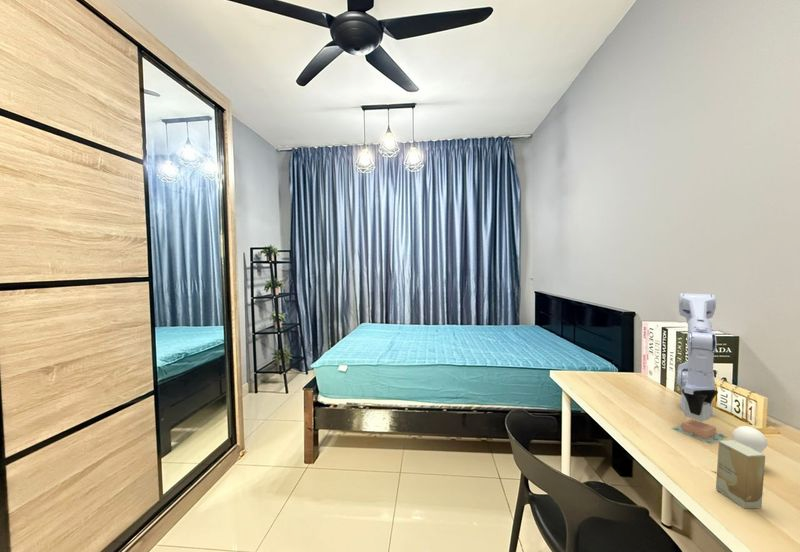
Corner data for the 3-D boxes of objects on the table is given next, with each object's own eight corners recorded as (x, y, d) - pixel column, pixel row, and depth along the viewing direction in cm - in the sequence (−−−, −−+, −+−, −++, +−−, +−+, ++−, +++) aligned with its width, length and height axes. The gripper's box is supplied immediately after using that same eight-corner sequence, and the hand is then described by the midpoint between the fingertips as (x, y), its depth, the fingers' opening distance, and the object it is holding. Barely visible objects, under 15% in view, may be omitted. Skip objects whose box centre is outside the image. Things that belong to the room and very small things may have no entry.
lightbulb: (773, 477, 80) (775, 434, 79) (744, 474, 81) (746, 432, 81) (752, 462, 86) (753, 423, 85) (725, 459, 87) (726, 420, 87)
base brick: (691, 426, 104) (691, 418, 104) (715, 435, 98) (715, 427, 98) (681, 430, 101) (682, 422, 101) (706, 439, 96) (706, 431, 96)
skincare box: (714, 489, 75) (716, 439, 75) (731, 488, 76) (732, 438, 75) (746, 510, 69) (748, 455, 68) (764, 509, 69) (766, 454, 69)
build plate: (687, 424, 106) (687, 420, 106) (727, 439, 97) (727, 435, 97) (671, 431, 102) (671, 427, 102) (711, 447, 93) (711, 442, 93)
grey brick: (691, 413, 103) (692, 398, 103) (709, 419, 99) (709, 403, 99) (684, 415, 101) (685, 400, 101) (702, 421, 97) (702, 405, 97)
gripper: (696, 363, 106) (694, 403, 106) (672, 369, 100) (671, 411, 100) (724, 370, 99) (723, 412, 100) (701, 376, 93) (699, 421, 94)
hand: (699, 412), depth 100 cm, fingers closed on grey brick, 4 cm apart
